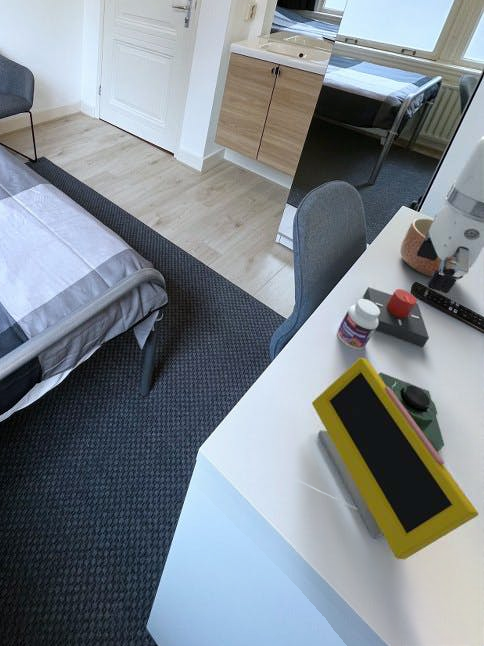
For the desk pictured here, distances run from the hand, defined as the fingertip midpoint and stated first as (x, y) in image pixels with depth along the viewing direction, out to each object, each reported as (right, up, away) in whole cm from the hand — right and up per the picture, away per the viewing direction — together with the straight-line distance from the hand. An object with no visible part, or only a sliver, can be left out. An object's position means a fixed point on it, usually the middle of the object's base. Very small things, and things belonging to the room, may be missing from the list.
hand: (430, 272), depth 82 cm
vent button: (-10, -20, -9) cm, 24 cm away
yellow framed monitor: (-24, -27, -17) cm, 40 cm away
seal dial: (0, -11, +10) cm, 15 cm away
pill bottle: (-12, -16, +6) cm, 21 cm away
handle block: (0, -14, +11) cm, 18 cm away
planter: (+20, -7, +28) cm, 35 cm away
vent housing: (-11, -23, -7) cm, 26 cm away
